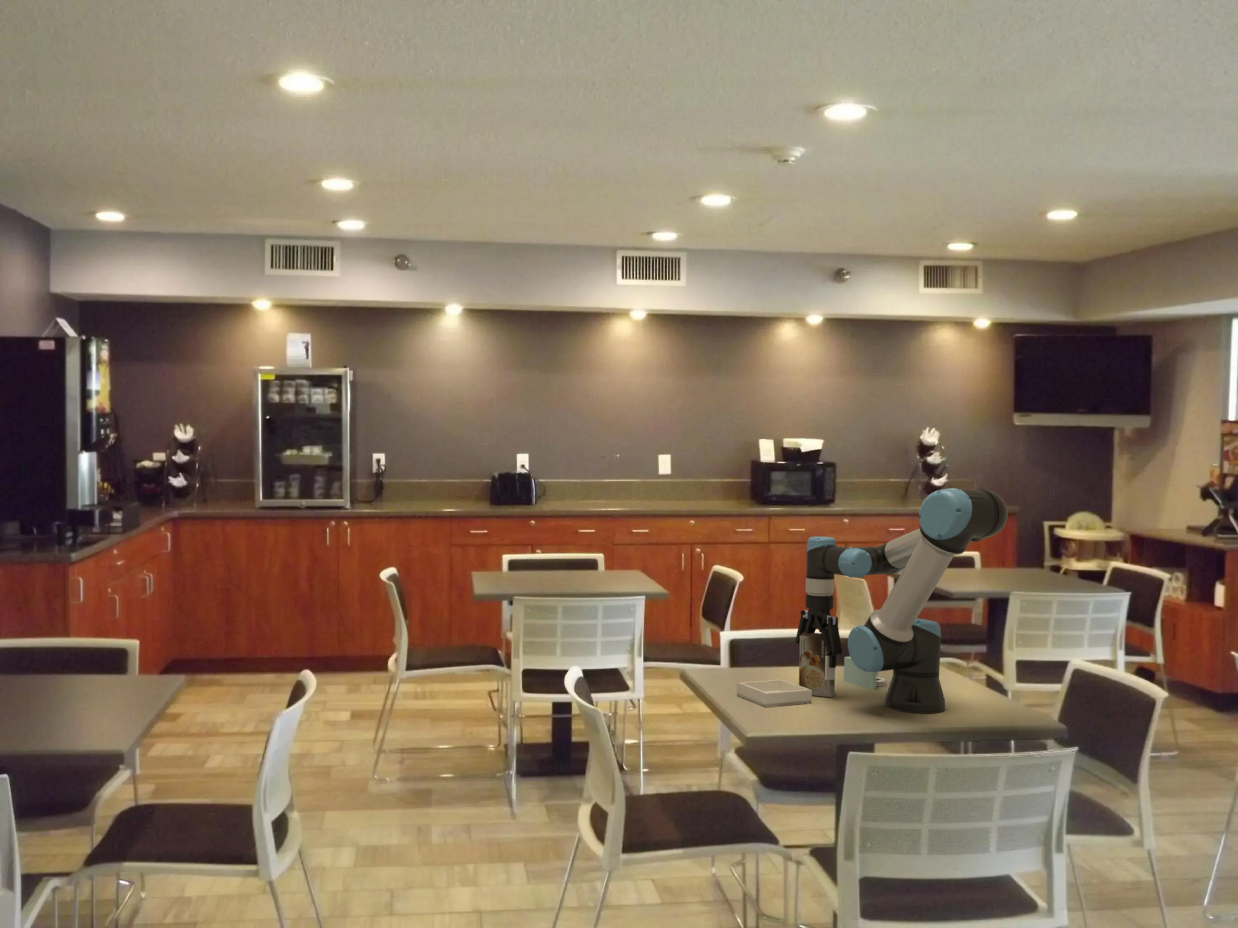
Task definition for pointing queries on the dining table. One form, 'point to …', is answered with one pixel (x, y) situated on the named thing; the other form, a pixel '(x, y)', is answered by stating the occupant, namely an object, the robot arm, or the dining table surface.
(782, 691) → the white square tray
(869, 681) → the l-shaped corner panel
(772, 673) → the dining table surface
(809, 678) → the coffee box
